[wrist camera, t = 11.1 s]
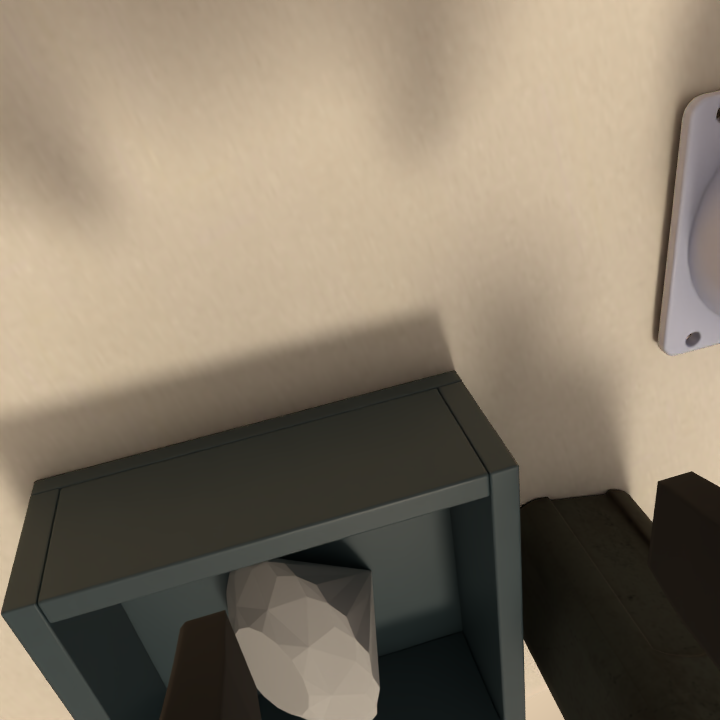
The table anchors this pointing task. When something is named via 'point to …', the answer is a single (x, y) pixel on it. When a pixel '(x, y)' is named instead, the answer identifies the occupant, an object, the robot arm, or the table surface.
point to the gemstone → (308, 636)
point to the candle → (607, 616)
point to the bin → (287, 551)
